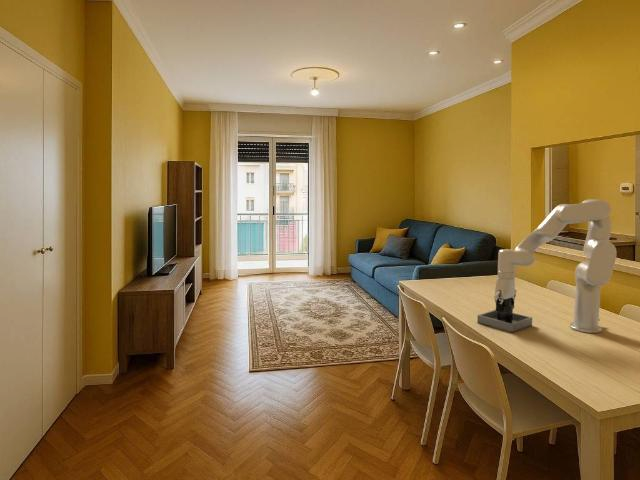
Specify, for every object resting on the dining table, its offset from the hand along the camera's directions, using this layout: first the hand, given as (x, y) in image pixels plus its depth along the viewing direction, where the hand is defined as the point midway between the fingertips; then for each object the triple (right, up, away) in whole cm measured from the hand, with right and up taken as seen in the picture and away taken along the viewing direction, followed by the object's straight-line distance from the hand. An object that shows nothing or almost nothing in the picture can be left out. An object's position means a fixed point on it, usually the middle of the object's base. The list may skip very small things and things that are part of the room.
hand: (504, 309), depth 195 cm
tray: (0, -7, +1) cm, 7 cm away
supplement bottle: (0, -7, +1) cm, 7 cm away
